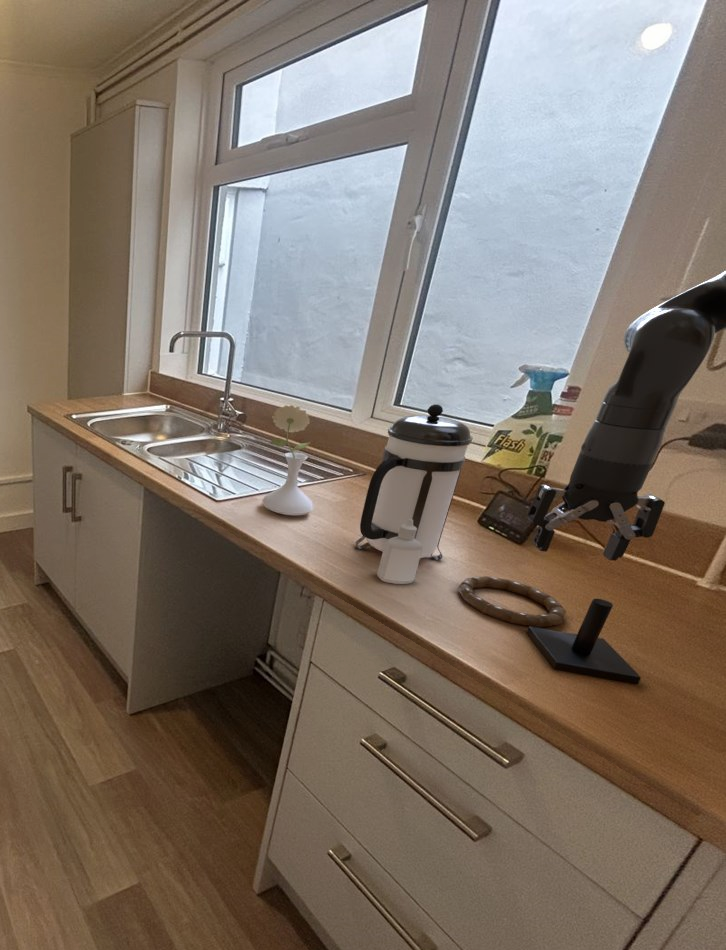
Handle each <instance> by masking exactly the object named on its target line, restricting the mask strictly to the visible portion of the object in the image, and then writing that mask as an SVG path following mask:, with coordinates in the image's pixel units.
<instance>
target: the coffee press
mask: <svg viewBox="0 0 726 950" xmlns="http://www.w3.org/2000/svg"><path fill="white" fill-rule="evenodd" d="M426 411H427V413H428V415H424V414H420V415H416V414H415V415H408V416H407V415H406V416H403V417H401V418H397V420H396V421H394V422H393V424H392V426H389V428H388V429H387V434H388V435H387V436H388V439H387V443H386V446H385V447H384V450H383V454H382V460H381V463H380V464H379V465H378V466H377V467H376V469H375V470H374V472H373V474H372V476H371V478H370V481H369V485H368V489H367V492H366V496H365V499H364V504H363V508H362V512H361V517H360V522H359V523H360V524H359V532H360V534H361V535H362V536H361V537H360V538H358V539H357V540H356V541H355V547H356V548H357V549H358V550H364V549H365V548H367V547H370V546H371V547H373V548H374V549H376V550H378V551H380V552H382V553H383V550H384V546H385V543H386V541H387V540H388V539H390V538H393V537H397V536H398V534H399V530H400V527H401V525H403V524H406V523H407V521H408V519H412V520H413V526H415V527H416V528H417V531H416V534H415V538H414V539H416V540H418V541H419V542H420V543H421V544H422V546H423V549H422V553H421V556H420V559H423V558H428V557H430V556H431V557H432V558H433V559H434V560H436V561H439V560H442V559H443V554H442V552H441V550H440V548H439V546H440V545H439V544H440V541H441V538H442V534H443V531H444V528H445V525H446V522H447V518H448V514H449V511H450V508H451V504H452V502H453V498H454V495H455V491H456V489H457V485H458V481H459V478H460V475H461V470H463V467H464V464H465V461H466V452H467V449H468V446H469V445H470V444H471V443H472V442H473V436H472V435H471V431H470V429H469V427H468V426H467V425H466V424H465V423H463V422H461V421H459V420H456V419H453V418H450V417H449V418H448V417H443V416H440V415H442V413H444V408H443V407H442V405H440V404H439V403H438V404H437V403H436V404H435V403H434V404H431V405H430V406H429V407H428V408H427V409H426ZM364 540H366V541H367V542H366V543H364V544H362V545H359V544H360V543H361V542H363V541H364ZM436 550H438V552H439V554H438V555H437V556H436V555H433V554H434V553H435V552H436Z"/></svg>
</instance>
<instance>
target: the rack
mask: <svg viewBox="0 0 726 950" xmlns="http://www.w3.org/2000/svg"><path fill="white" fill-rule="evenodd" d="M613 606H614V604H613V603H612V602H610V601H608V600H606V599H603V598H602V599H601V598H593V599H592V600H591V602H590V605H589V607H588V609H587V611H586V614H585V616H584V618H583V621H582V623H581V624H580V627H579V629H578V631H577V634H576V633H573V632H565V631H558V630H552V629H547V628H542V627H534V626H528V627H527V630H526V635H527V636H528V637H529V639H530V640H531V641H532V642H533V644H534V645H535V646H536V648H537V649H538V650H539V652H540V653H541V654H542V655H543V657H544V658H545V660H546V661H547V662H548V663H549V664H550V666H551V667H552V669H553V670H557V671H563V672H568V673H574V674H578V675H585V676H589V677H596V678H601V679H607V680H611V681H617V682H623V683H629V684H634V685H639V683H640V681H641V679H642V676H640V675H639V673H638V672H637V671H635V669H634V668H633V667H632V666H631V665H630V664H629V662H627V661H626V660H625V659H624V658H623V657H622V656H621V654H619V653H618V652H617V651H616V650H615V648H613V647H612V645H611V644H609V643H608V641H607V640H605V638H601V637H600V634H601V632H602V630H603V628H604V627H605V623H606V621H607V619H608V617H609V616H610V613H611V611H612V609H613Z"/></svg>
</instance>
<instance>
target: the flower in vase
mask: <svg viewBox="0 0 726 950" xmlns="http://www.w3.org/2000/svg"><path fill="white" fill-rule="evenodd" d="M271 418H272V420H273V421H272V422H273V423H274V426H275V427H276V428H278V430H284V431H285V432H286V438H285V440H284V439H282V438H281V437H276V438H273V439H272V440H270V441H269V442H268V444H269V445H273V446H276V447H279V448H283V447H285V446H288V449H289V450H290V452H285V453H284V454H283V455H284V457H285V459H286V461H287V474H286V475H287V476H286V481H285V483H284V484H283V485H282V486H281V487H278V488H277V489H274V490H272V491H270V492H269V493H267V494H266V495H265V496H264V497H263V498H262V504H263V507H265V508H266V509H268V510H269V511H272V512H274V513H277V514H279V515H284V516H303V515H308V514H310V513H312V511H314V508H315V506H314V503H313V501H312V499H310V498H309V496H307V494H306V493H305V492H303V491H302V489H300V488H299V486H298V477H299V473H300V470H301V468H302V465H303V464H304V463H305V461H306V460H307V459H308V458H309V456H308V455H307V454H305V453H301V452H294V451H299V450H303V449H304V448H307V447H308V446H309V445H310V444H311V441H308V442H303V443H298V444H297V445H296V446H295V447H293V448H292V446H291V445H290V442H289V433H295V432H296V433H299V432H300V431H306V428H307V427H308V425H310V424H311V422H310V421H311V419H310V417H309V413H307V411H306V410H303V409H301V407H300V406H294V405H292V404H291V405H288V404H287V405H286V404H285V405H284V406H283V407H280V406H279V407H278V408H277V409H275V412H273V415H271Z"/></svg>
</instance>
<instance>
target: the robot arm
mask: <svg viewBox="0 0 726 950" xmlns="http://www.w3.org/2000/svg"><path fill="white" fill-rule="evenodd" d="M725 329H726V270H724V271H722V272H721V273H720V274H717V275H716V276H714V277H712V278H710V279H708V280H706V281H704V282H702V283H700V284H698V285H695V286H694V287H691V288H690V289H687V290H686V291H683V292H682V293H680V294H677V295H676V296H674V297H672V298H670V299H667V300H666V301H664V302H662V303H660V304H659V305H657V306H655V307H653V308H651V309H650V310H648V311H645V313H643V314H641V315H640V316H639V317H637V318H636V319H635V320H634V321H632V322H631V323H630V325H629V326H628V327H627V329H626V331H625V332H624V335H623V346H624V349H625V351H626V352H627V353H628V356H627V357H626V360H625V362H624V365H623V367H622V369H621V372H620V375H619V377H618V379H617V380H616V381H615V382H614V383H612V384H611V386H609V388H608V389H607V391H606V393H605V395H604V397H603V399H602V402H601V404H600V407H599V409H598V412H597V414H596V416H595V420H594V421H593V424H592V425H591V427H590V429H589V430H588V432H587V434H586V436H585V439H584V441H583V443H581V446H580V451H579V453H578V456H577V459H576V461H575V464H574V466H573V469H572V471H571V474H570V476H569V482H568V484H567V485H566V486H565V487H564V488H559V487H551V486H549V485H548V484H546V483H544V484H543V483H542V484H540V485H539V486H538V488H537V491H536V493H535V495H534V497H533V499H532V502H531V504H530V505H529V508H528V510H527V512H526V515H525V517H526V519H528V520H529V522H531V523H532V524H533V525H535V526H537V529H536V531H535V535H534V537H533V539H532V544H533V545H535V549H538V551H540V552H545V553H546V552H548V551H549V548H550V545H551V543H552V540H553V538H554V536H555V533H556V531H555V529H557V528H559V527H561V526H562V525H564V524H565V523H566V524H567V523H568V524H569V523H570V522H572V521H575V520H576V519H577V518H578V519H579V520H583V521H590V520H595V521H598V522H602V523H607V522H609V523H610V524H611V527H612V528H613V529H614V531H615V533H613V532H612V533H611V534H610V537H609V539H608V541H607V543H606V546H605V548H604V550H603V553H602V555H603V556H604V558H606V560H608V561H614V562H616V561H617V560H618V559H619V558H622V557H623V556H624V555H625V553H626V551H627V548H628V546H629V544H630V542H631V541H632V540H633V539H635V538H647V539H648V538H651V537H652V536H653V535H654V533H655V530H656V528H657V525H658V522H659V519H660V517H661V514H662V512H663V509H664V507H665V504H666V502H665V501H664V500H663V499H661V498H660V497H658V496H656V495H654V494H651V493H649V494H648V493H647V494H645V495H644V496H643V495H638V493H639V491H640V490H642V488H643V486H644V484H645V482H646V479H647V477H648V475H649V473H650V471H651V468H652V466H653V464H654V462H655V460H656V457H657V455H658V453H659V451H660V448H661V445H662V444H663V439H664V434H665V432H666V430H667V429H666V428H667V426H668V425H669V422H670V420H671V417H672V416H673V413H674V411H675V409H676V406H677V404H678V401H679V398H680V396H681V394H682V392H683V391H684V390H685V388H686V387H687V386H688V384H689V383H690V381H691V380H692V378H693V377H694V375H695V374H696V373H697V371H698V369H699V368H700V367H701V365H702V363H704V362H703V361H705V359H706V357H707V355H708V353H709V351H710V349H711V347H712V345H713V341H714V339H715V334H717V333H719V332H721V331H723V330H725ZM559 498H562V500H563V502H561V503H559V504H558V505H556V506H555V507H553V508H552V509H551V511H549V510H550V507H551V506H552V503H555V502H557V500H558V499H559ZM635 506H636V508H637V513H636V515H635V518H634V521H633V524H631V522H630V520H629V518H628V516H627V515H626V513H625V512H628V511H629V510H630V509H632V508H633V507H635Z"/></svg>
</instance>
